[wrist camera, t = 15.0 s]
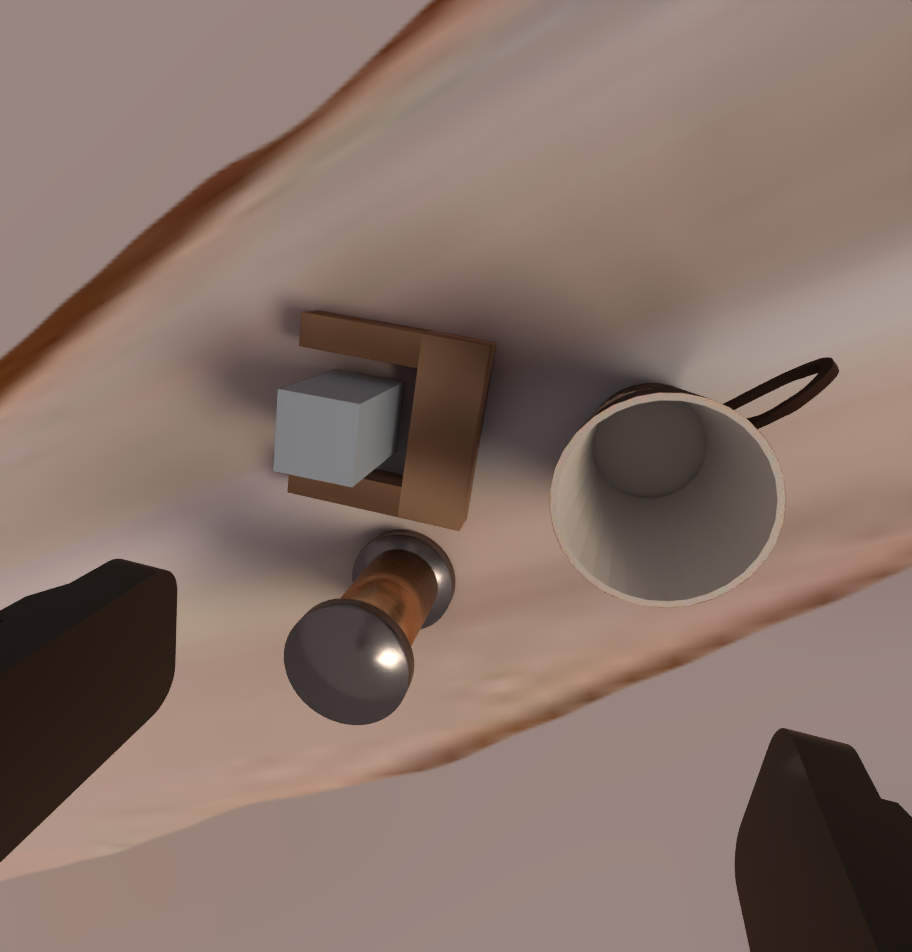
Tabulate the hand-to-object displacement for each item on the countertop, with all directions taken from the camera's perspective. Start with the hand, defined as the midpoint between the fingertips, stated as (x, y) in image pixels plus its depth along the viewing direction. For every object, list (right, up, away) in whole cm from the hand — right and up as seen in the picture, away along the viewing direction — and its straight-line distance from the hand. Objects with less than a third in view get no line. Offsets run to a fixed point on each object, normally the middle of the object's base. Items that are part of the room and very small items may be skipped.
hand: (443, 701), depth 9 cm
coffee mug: (+12, +5, +26) cm, 29 cm away
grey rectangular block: (-5, +7, +29) cm, 30 cm away
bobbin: (-3, -3, +31) cm, 32 cm away
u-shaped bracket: (-3, +6, +29) cm, 30 cm away
